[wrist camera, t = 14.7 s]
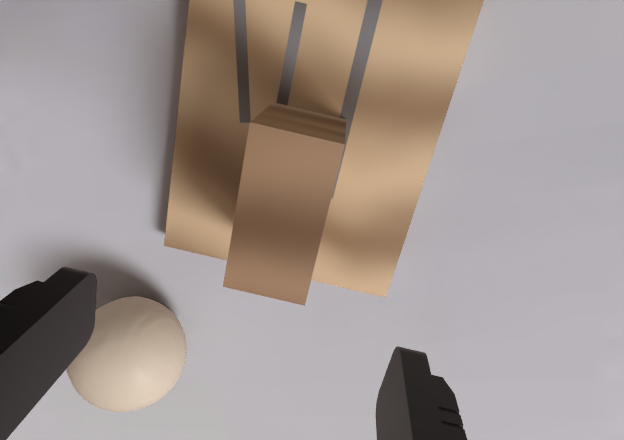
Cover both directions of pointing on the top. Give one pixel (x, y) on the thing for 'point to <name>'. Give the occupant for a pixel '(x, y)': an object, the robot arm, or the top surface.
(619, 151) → the top surface
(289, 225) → the block
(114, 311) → the baseball
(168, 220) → the board
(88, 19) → the top surface
